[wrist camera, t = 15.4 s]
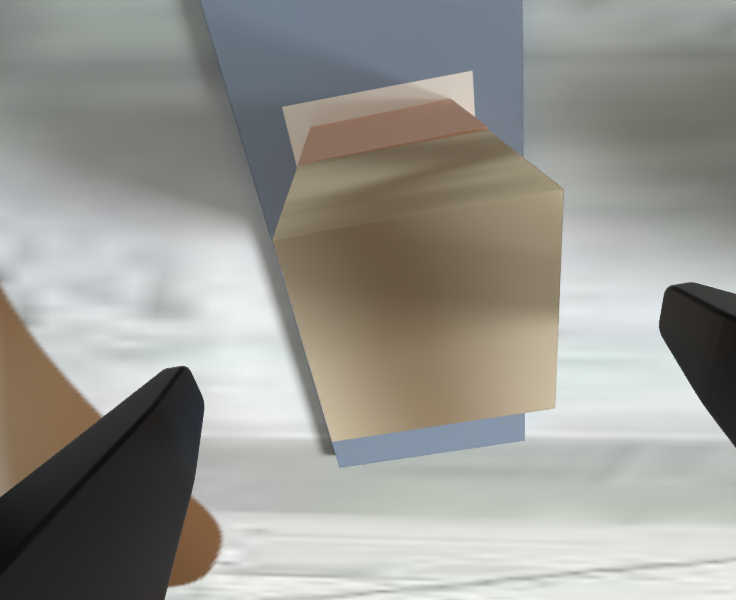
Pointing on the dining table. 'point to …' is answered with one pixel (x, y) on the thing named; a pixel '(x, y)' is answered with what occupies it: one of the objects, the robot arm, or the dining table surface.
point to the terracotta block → (388, 130)
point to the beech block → (425, 283)
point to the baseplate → (367, 112)
